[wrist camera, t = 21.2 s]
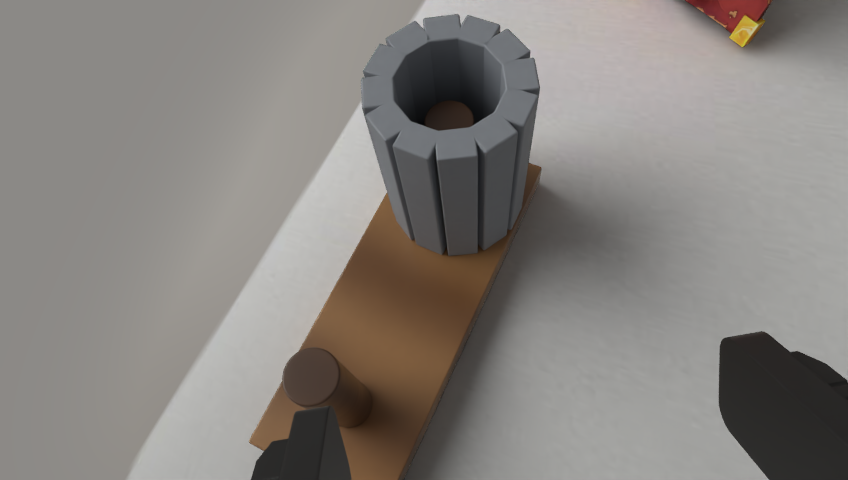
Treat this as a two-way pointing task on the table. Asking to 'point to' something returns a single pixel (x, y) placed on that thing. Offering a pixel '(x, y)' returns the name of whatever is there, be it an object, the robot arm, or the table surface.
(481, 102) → the grooved hollow cylinder
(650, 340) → the table surface
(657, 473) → the table surface
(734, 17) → the book monster
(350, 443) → the peg rack
